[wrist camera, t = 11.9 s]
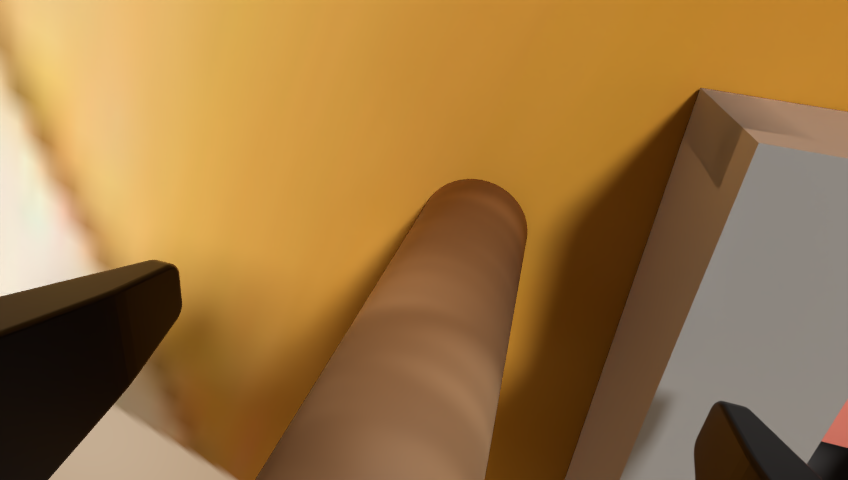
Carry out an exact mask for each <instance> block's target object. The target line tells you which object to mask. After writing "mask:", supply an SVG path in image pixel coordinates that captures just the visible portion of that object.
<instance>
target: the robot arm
mask: <svg viewBox="0 0 848 480" xmlns="http://www.w3.org/2000/svg"><path fill="white" fill-rule="evenodd" d="M181 308H182V298H181V288H180V277H179V271H178V269H177V267H176V266H175V265H173V264H170V263H166V262H162V261H158V260H149V261H145V262H141V263H137V264H132V265H128V266H124V267H120V268H116V269H112V270H108V271H104V272H100V273H95V274H91V275H87V276H83V277H79V278H75V279H71V280H67V281H63V282H58V283H54V284H50V285H46V286H42V287H38V288H34V289H30V290H26V291H21V292H17V293H13V294H9V295H5V296H1V297H0V480H48V479H49V478H50V477H51V476H52V474H54V472H55V471H56V470H57V469H58V468H59V466H60V465H61V464H62V463H63V462H64V461H65V460H66V459H67V457H68V456H69V455H70V454H71V453H72V452H73V450H74V449H75V448H76V447H77V446H78V445H79V444H80V442H81V441H82V440H83V439H84V438H85V437H86V436H87V434H88V433H89V432H90V431H91V430H92V429H93V428H94V426H95V425H96V424H97V423H98V422H99V421H100V419H101V418H102V417H103V416H104V415H105V414H106V412H107V411H108V410H109V409H110V408H111V407H112V406H113V405H114V403H115V402H116V401H117V400H118V399H119V398H120V396H121V395H122V394H123V393H124V392H125V390H126V389H127V388H128V387H129V386H130V384H131V383H132V381H133V380H134V379H135V378H136V376H137V375H138V374H139V372H140V371H141V369H142V368H143V366H144V365H145V364H146V362H147V361H148V359H149V358H150V357H151V355H152V354H153V352H154V351H155V349H156V348H157V347H158V345H159V344H160V342H161V341H162V340H163V338H164V337H165V335H166V334H167V332H168V331H169V330H170V328H171V327H172V325H173V324H174V323H175V321H176V320H177V318H178V316H179V314H180V312H181ZM694 468H695V480H823V479H822V478H821V477H820V476H819V475H818V474H816V473H815V472H814V471H813V470H812V469H811V468H810V467H809V466H808V465H807V464H806V463H805V462H804V461H803V460H802V459H801V458H800V457H799V456H798V455H797V454H796V453H795V452H794V451H793V450H791V449H790V448H789V447H788V446H787V445H786V444H785V443H784V442H783V441H782V440H781V439H780V438H779V437H778V436H777V435H776V434H775V433H774V432H773V431H772V430H771V429H770V428H769V427H768V426H766V425H765V424H764V423H763V422H762V421H761V420H760V419H759V418H758V417H757V416H756V415H755V414H754V413H753V412H752V411H751V410H750V409H748V408H747V407H745V406H741V405H737V404H733V403H729V402H725V401H718V402H716V403H715V404H714V405H713V406H712V407H711V409H710V411H709V413H708V416H707V418H706V420H705V422H704V424H703V426H702V428H701V430H700V432H699V434H698V436H697V438H696V441H695V446H694Z"/></svg>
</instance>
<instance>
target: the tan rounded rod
mask: <svg viewBox="0 0 848 480" xmlns="http://www.w3.org/2000/svg"><path fill="white" fill-rule="evenodd" d="M526 239H527V223H526V219H525V215H524V213H523V211H522V209H521V207H520V205H519V204H518V202H517V201H516V200H515V199H514V198H513V197H512V196H511V195H510V194H509V193H508V192H507V191H505V190H504V189H503V188H501V187H499V186H497V185H495V184H493V183H490V182H487V181H483V180H477V179H464V180H458V181H454V182H452V183H449V184H447V185H445V186H443V187H441V188H440V189H439V190H437V191H436V192H435V193H434V194H433V195H432V196H431V198H430V199H429V200H428V202H427V203H426V205H425V207H424V208H423V210H422V211H421V213H420V215H419V216H418V218H417V220H416V221H415V223H414V224H413V226H412V228H411V229H410V231H409V232H408V234H407V236H406V237H405V239H404V240H403V242H402V244H401V245H400V247H399V249H398V250H397V252H396V253H395V255H394V257H393V258H392V260H391V261H390V263H389V265H388V266H387V268H386V270H385V271H384V273H383V274H382V276H381V278H380V279H379V281H378V282H377V284H376V286H375V287H374V289H373V291H372V292H371V294H370V295H369V297H368V299H367V300H366V302H365V303H364V305H363V307H362V308H361V310H360V311H359V313H358V315H357V316H356V318H355V320H354V321H353V323H352V324H351V326H350V328H349V329H348V331H347V332H346V334H345V336H344V337H343V339H342V341H341V342H340V344H339V345H338V347H337V349H336V350H335V352H334V353H333V355H332V357H331V358H330V360H329V361H328V363H327V365H326V366H325V368H324V370H323V371H322V373H321V374H320V376H319V378H318V379H317V381H316V382H315V384H314V386H313V387H312V389H311V391H310V392H309V394H308V395H307V397H306V399H305V400H304V402H303V403H302V405H301V407H300V408H299V410H298V412H297V413H296V415H295V416H294V418H293V420H292V421H291V423H290V424H289V426H288V428H287V429H286V431H285V432H284V434H283V436H282V437H281V439H280V441H279V442H278V444H277V445H276V447H275V449H274V450H273V452H272V453H271V455H270V457H269V458H268V460H267V462H266V463H265V465H264V466H263V468H262V470H261V471H260V473H259V474H258V476H257V478H256V479H255V480H485V474H486V468H487V463H488V457H489V451H490V446H491V440H492V434H493V428H494V423H495V417H496V411H497V406H498V400H499V394H500V388H501V383H502V377H503V371H504V365H505V360H506V354H507V348H508V343H509V337H510V331H511V325H512V320H513V314H514V308H515V303H516V297H517V291H518V285H519V280H520V274H521V268H522V262H523V257H524V251H525V245H526Z"/></svg>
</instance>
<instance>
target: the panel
mask: <svg viewBox="0 0 848 480" xmlns="http://www.w3.org/2000/svg"><path fill="white" fill-rule="evenodd" d="M847 399H848V112H845V111H839V110H833V109H827V108H821V107H814V106H808V105H802V104H796V103H790V102H784V101H778V100H772V99H765V98H759V97H753V96H747V95H741V94H735V93H729V92H722V91H716V90H710V89H704V88H700V91H699V93H698V96H697V99H696V102H695V105H694V108H693V111H692V114H691V117H690V119H689V122H688V125H687V128H686V131H685V134H684V137H683V140H682V142H681V145H680V148H679V151H678V154H677V157H676V160H675V163H674V166H673V168H672V171H671V174H670V177H669V180H668V183H667V186H666V189H665V192H664V194H663V197H662V200H661V203H660V206H659V209H658V212H657V215H656V218H655V220H654V223H653V226H652V229H651V232H650V235H649V238H648V241H647V244H646V246H645V249H644V252H643V255H642V258H641V261H640V264H639V267H638V270H637V272H636V275H635V278H634V281H633V284H632V287H631V290H630V293H629V296H628V298H627V301H626V304H625V307H624V310H623V313H622V316H621V319H620V322H619V324H618V327H617V330H616V333H615V336H614V339H613V342H612V345H611V348H610V350H609V353H608V356H607V359H606V362H605V365H604V368H603V371H602V374H601V376H600V379H599V382H598V385H597V388H596V391H595V394H594V397H593V399H592V402H591V405H590V408H589V411H588V414H587V417H586V420H585V423H584V425H583V428H582V431H581V434H580V437H579V440H578V443H577V446H576V449H575V451H574V454H573V457H572V460H571V463H570V466H569V469H568V472H567V475H566V477H565V480H695V468H694V446H695V441H696V438H697V436H698V434H699V432H700V430H701V428H702V426H703V424H704V422H705V420H706V418H707V416H708V413H709V411H710V409H711V407H712V406H713V405H714V404H715V403H716V402H718V401H725V402H729V403H733V404H737V405H741V406H745V407H747V408H748V409H750V410H751V411H752V412H753V413H754V414H755V415H756V416H757V417H758V418H759V419H760V420H761V421H762V422H763V423H764V424H765V425H766V426H768V427H769V428H770V429H771V430H772V431H773V432H774V433H775V434H776V435H777V436H778V437H779V438H780V439H781V440H782V441H783V442H784V443H785V444H786V445H787V446H788V447H789V448H790V449H791V450H793V451H794V452H795V453H796V454H797V455H798V456H799V457H800V458H801V459H802V460H803V461H804V462H805V463H806V464H807V465H808V466H809V467H810V468H811V469H812V470H813V471H814V472H815V473H816V474H818V475H819V476H820V477H821V478H822V479H823V480H848V448H846V447H842V446H838V445H834V444H830V443H826V442H822V439H823V437H824V436H825V434H826V433H827V431H828V429H829V428H830V426H831V425H832V423H833V421H834V420H835V418H836V417H837V415H838V414H839V412H840V410H841V409H842V407H843V406H844V404H845V402H846V401H847Z"/></svg>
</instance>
